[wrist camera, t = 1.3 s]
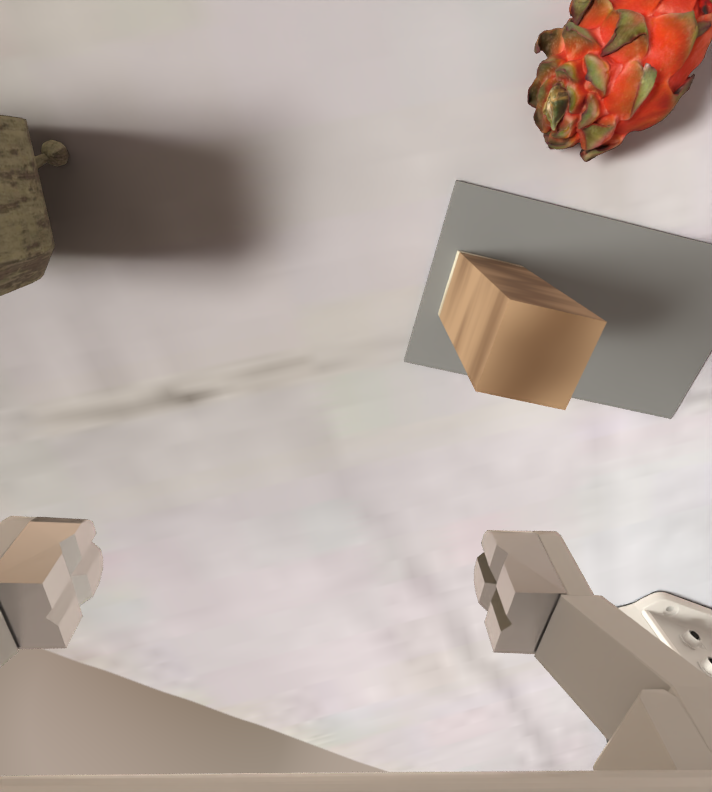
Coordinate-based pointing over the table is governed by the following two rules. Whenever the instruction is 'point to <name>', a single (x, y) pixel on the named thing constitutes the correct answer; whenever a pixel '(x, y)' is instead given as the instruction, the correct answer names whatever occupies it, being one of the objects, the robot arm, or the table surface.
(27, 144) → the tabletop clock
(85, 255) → the table surface
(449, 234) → the rubber mat
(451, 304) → the light brown wooden block
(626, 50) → the dragon fruit
